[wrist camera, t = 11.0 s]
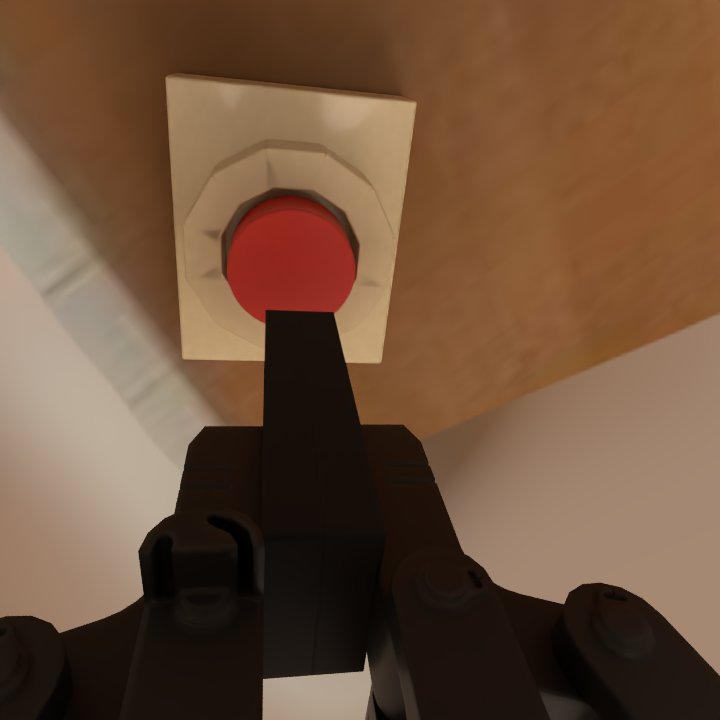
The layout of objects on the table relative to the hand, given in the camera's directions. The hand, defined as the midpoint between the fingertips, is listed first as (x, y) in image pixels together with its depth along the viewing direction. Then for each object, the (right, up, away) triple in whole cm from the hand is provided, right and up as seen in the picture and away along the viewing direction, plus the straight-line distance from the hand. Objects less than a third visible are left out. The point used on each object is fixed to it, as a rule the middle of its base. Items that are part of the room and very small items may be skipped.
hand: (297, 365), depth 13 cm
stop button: (-1, +4, +6) cm, 7 cm away
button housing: (-1, +5, +9) cm, 11 cm away
